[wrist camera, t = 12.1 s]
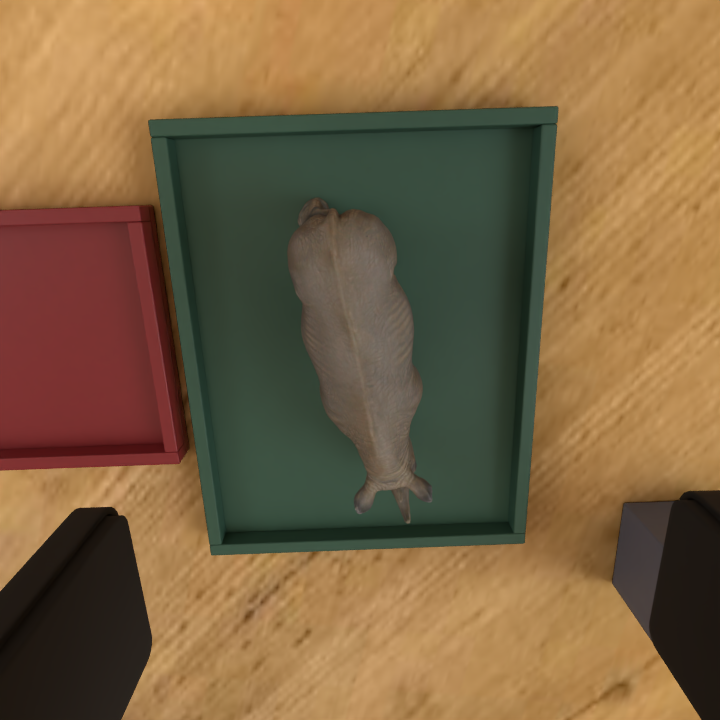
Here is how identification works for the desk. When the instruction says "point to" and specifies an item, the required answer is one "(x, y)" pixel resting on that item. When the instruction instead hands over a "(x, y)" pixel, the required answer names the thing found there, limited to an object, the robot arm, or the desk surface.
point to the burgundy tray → (86, 341)
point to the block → (640, 555)
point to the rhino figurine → (360, 342)
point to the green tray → (419, 282)
